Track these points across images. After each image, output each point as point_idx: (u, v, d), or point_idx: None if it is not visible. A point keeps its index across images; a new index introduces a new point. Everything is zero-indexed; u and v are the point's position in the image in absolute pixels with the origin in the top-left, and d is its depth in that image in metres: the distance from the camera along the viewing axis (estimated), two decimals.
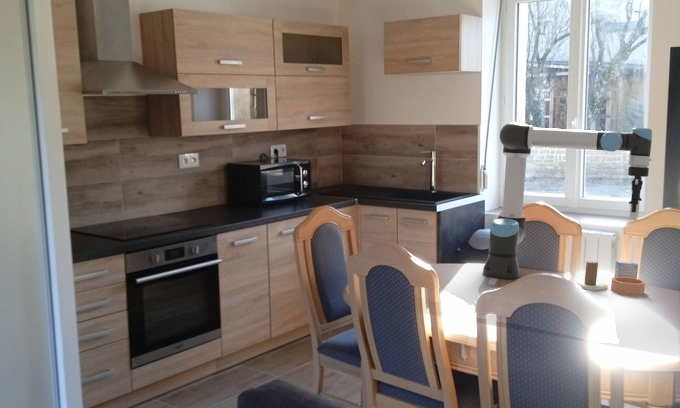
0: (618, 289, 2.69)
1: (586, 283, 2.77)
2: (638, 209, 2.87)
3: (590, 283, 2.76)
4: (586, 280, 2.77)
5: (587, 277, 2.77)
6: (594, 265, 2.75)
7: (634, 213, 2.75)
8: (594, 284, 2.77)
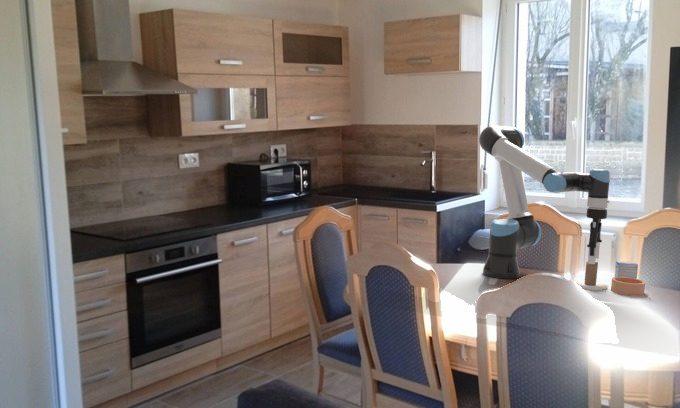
0: (618, 289, 2.69)
1: (586, 283, 2.77)
2: (598, 251, 2.82)
3: (590, 283, 2.76)
4: (586, 280, 2.77)
5: (587, 277, 2.77)
6: (594, 265, 2.75)
7: (592, 256, 2.70)
8: (594, 284, 2.77)
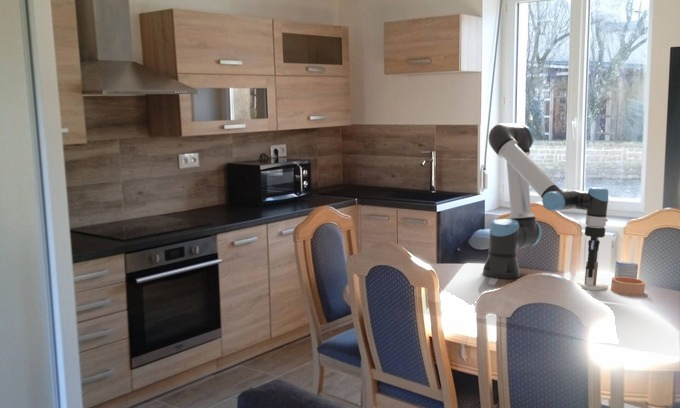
0: (618, 289, 2.69)
1: None
2: None
3: None
4: None
5: None
6: None
7: (591, 278, 2.75)
8: (594, 284, 2.77)
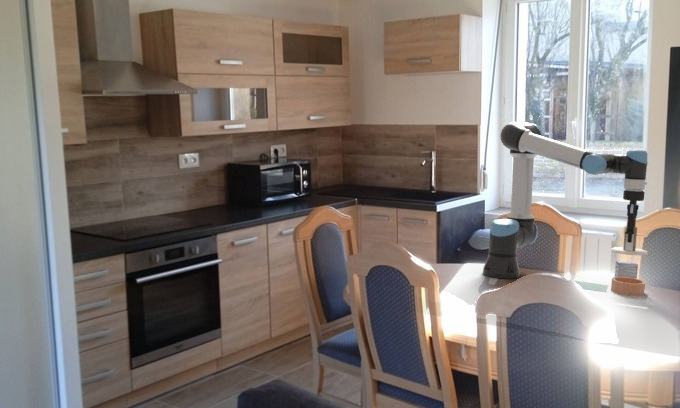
0: (618, 289, 2.69)
1: None
2: None
3: None
4: None
5: None
6: None
7: (630, 243, 2.68)
8: (633, 249, 2.69)
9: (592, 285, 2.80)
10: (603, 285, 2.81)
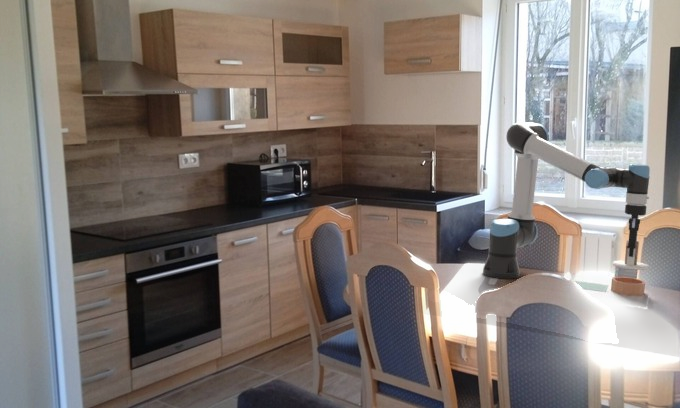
0: (618, 289, 2.69)
1: None
2: None
3: None
4: (626, 260, 2.70)
5: None
6: (635, 244, 2.68)
7: (631, 257, 2.68)
8: (635, 264, 2.69)
9: (592, 285, 2.80)
10: (603, 285, 2.81)
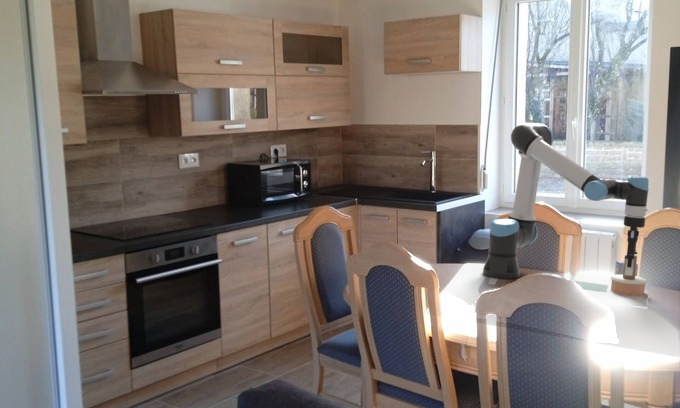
0: (618, 289, 2.69)
1: (625, 277, 2.71)
2: None
3: (629, 277, 2.70)
4: None
5: None
6: None
7: (630, 268, 2.66)
8: (633, 278, 2.70)
9: (592, 285, 2.80)
10: (603, 285, 2.81)
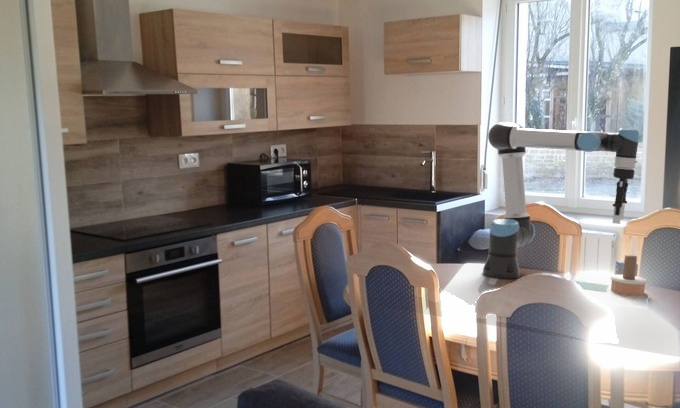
0: (618, 289, 2.69)
1: (625, 277, 2.71)
2: (623, 212, 2.81)
3: (629, 277, 2.70)
4: (625, 274, 2.71)
5: (626, 271, 2.70)
6: (633, 259, 2.69)
7: (618, 216, 2.70)
8: (633, 278, 2.70)
9: (592, 285, 2.80)
10: (603, 285, 2.81)
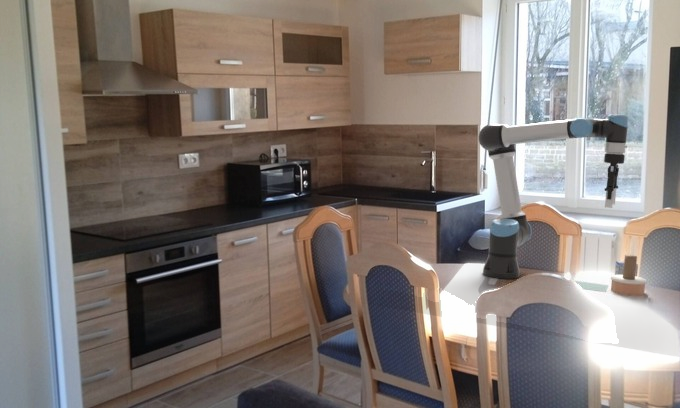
0: (618, 289, 2.69)
1: (625, 277, 2.71)
2: (615, 197, 2.86)
3: (629, 277, 2.70)
4: (625, 274, 2.71)
5: (626, 271, 2.70)
6: (633, 259, 2.69)
7: (610, 200, 2.74)
8: (633, 278, 2.70)
9: (592, 285, 2.80)
10: (603, 285, 2.81)
